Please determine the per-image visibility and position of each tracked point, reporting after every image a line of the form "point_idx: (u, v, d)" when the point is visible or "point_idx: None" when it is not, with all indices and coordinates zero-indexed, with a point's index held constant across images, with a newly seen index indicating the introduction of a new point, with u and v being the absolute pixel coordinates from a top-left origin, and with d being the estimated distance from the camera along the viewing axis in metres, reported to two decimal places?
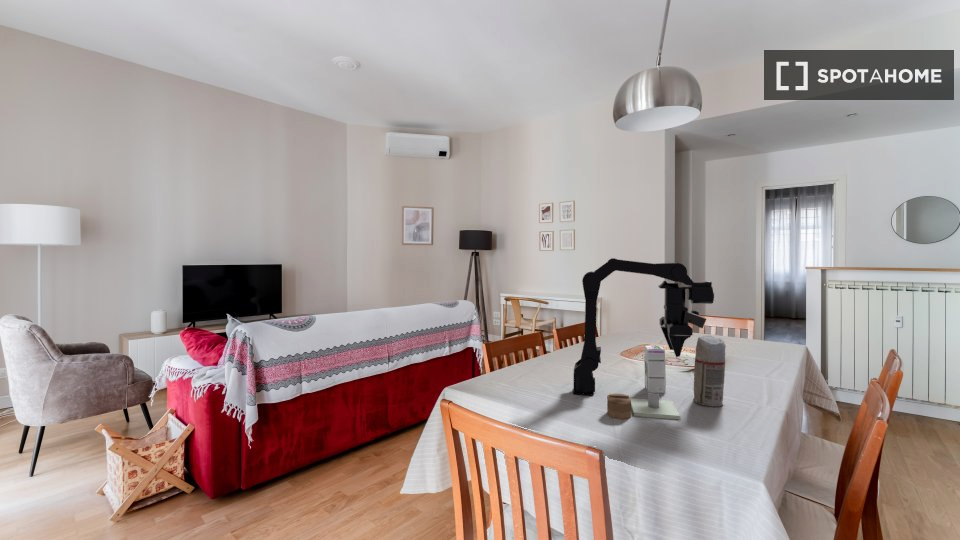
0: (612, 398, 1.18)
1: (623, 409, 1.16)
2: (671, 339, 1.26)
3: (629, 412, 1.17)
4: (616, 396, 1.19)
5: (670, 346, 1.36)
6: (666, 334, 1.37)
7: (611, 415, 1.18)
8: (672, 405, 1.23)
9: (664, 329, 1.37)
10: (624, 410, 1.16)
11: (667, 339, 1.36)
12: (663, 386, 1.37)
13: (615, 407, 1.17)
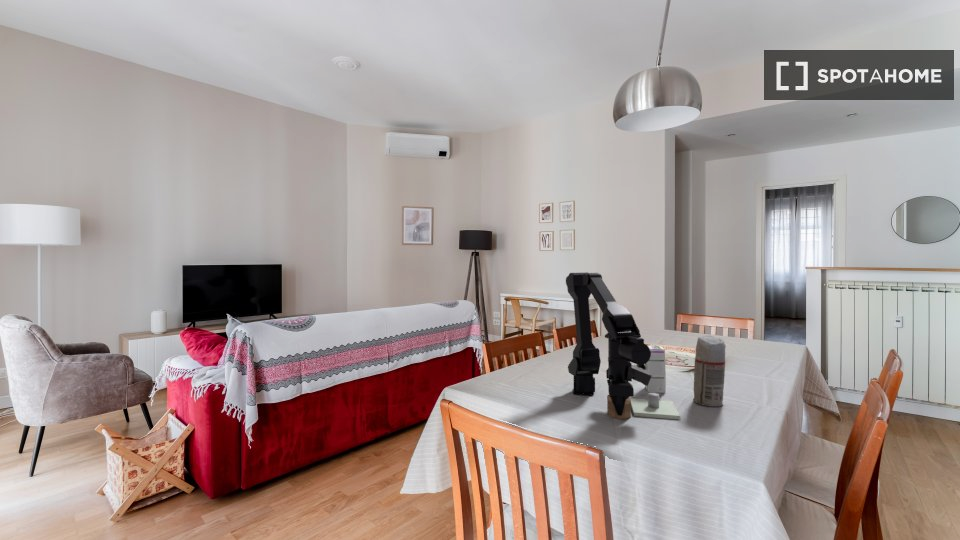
0: None
1: (623, 409, 1.16)
2: (612, 397, 1.15)
3: (629, 412, 1.17)
4: None
5: None
6: None
7: (611, 415, 1.18)
8: (672, 405, 1.23)
9: None
10: (624, 410, 1.16)
11: None
12: (663, 386, 1.37)
13: None
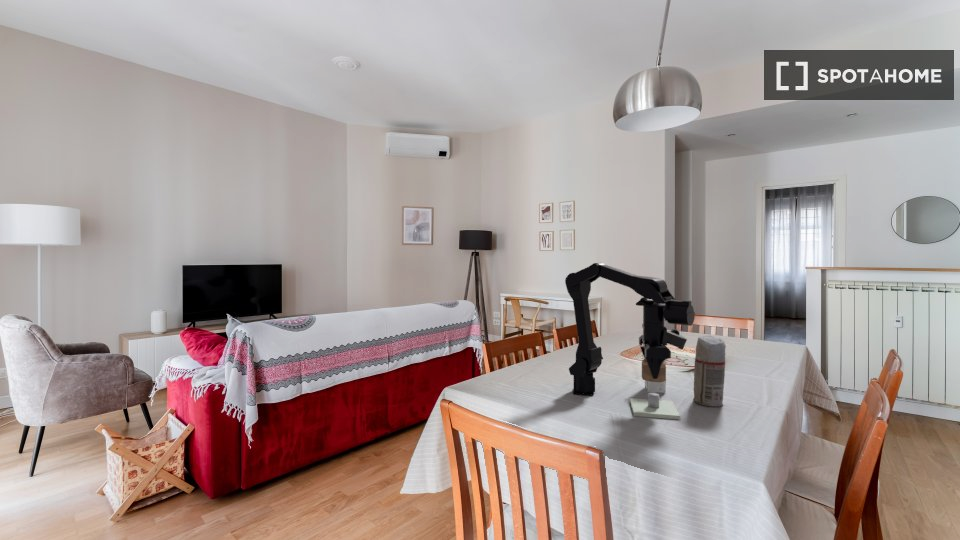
0: None
1: (659, 372, 1.19)
2: (648, 360, 1.18)
3: (664, 376, 1.20)
4: None
5: None
6: None
7: (646, 379, 1.21)
8: (672, 405, 1.23)
9: (644, 350, 1.26)
10: (659, 373, 1.19)
11: None
12: (663, 386, 1.37)
13: None
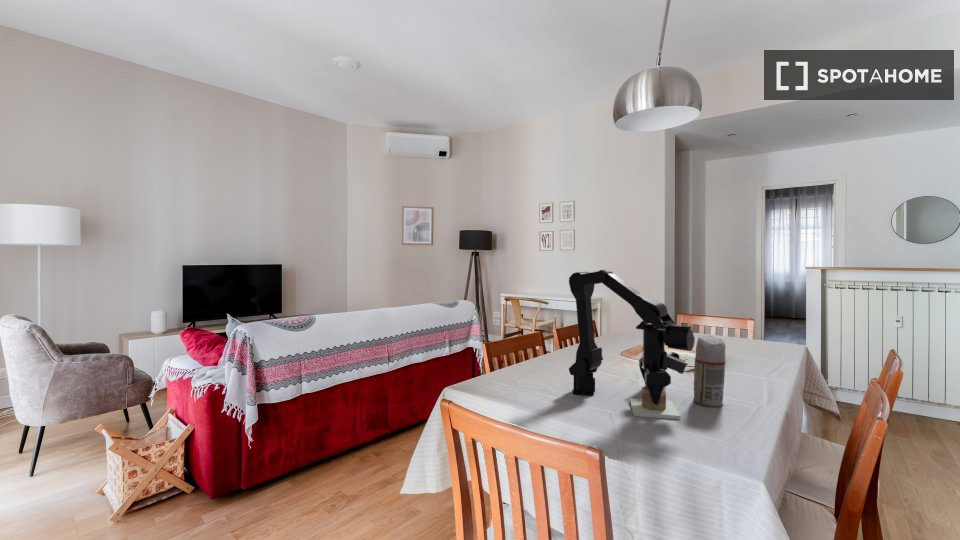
0: (647, 390, 1.22)
1: (659, 401, 1.20)
2: (648, 386, 1.17)
3: (664, 404, 1.21)
4: None
5: None
6: (645, 377, 1.28)
7: (646, 407, 1.21)
8: (672, 405, 1.23)
9: (643, 372, 1.28)
10: (659, 402, 1.20)
11: None
12: None
13: (651, 399, 1.20)
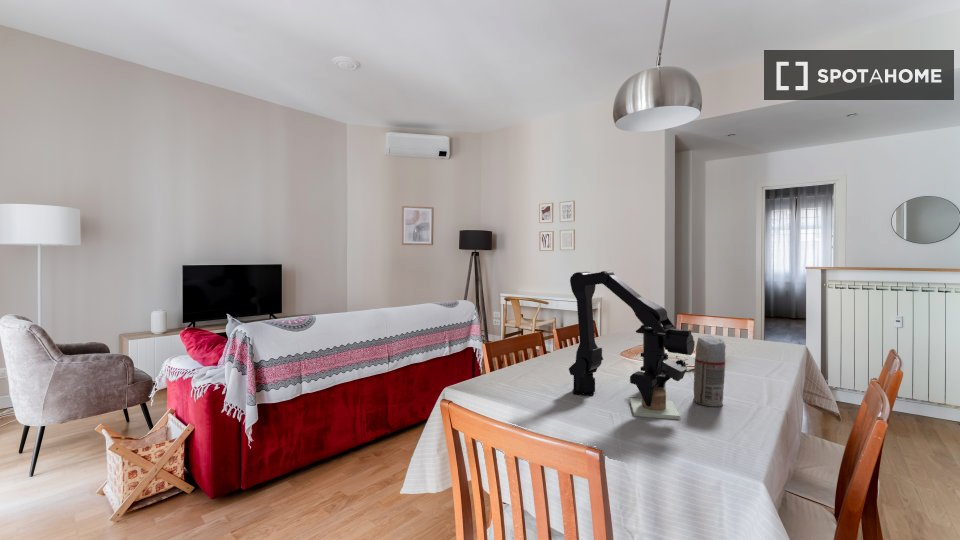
0: None
1: (658, 401, 1.20)
2: (638, 387, 1.20)
3: (664, 404, 1.21)
4: None
5: None
6: None
7: (646, 407, 1.21)
8: (672, 405, 1.23)
9: None
10: (659, 402, 1.20)
11: None
12: None
13: None
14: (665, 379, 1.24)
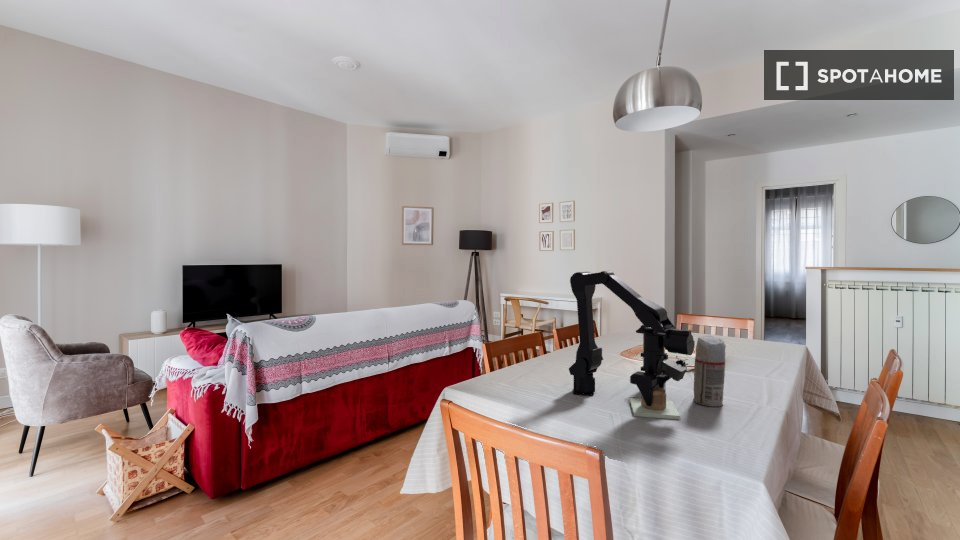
0: (656, 392, 1.20)
1: (665, 399, 1.21)
2: (638, 387, 1.20)
3: None
4: (654, 389, 1.22)
5: None
6: None
7: (658, 408, 1.20)
8: (672, 405, 1.23)
9: None
10: (665, 399, 1.22)
11: None
12: None
13: (662, 399, 1.20)
14: (665, 379, 1.24)
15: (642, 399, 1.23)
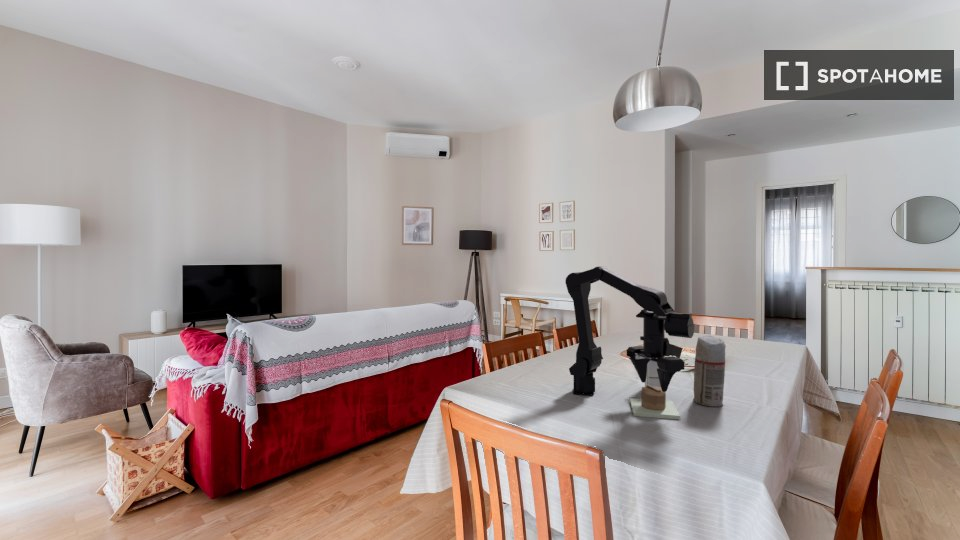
0: None
1: None
2: (662, 375, 1.17)
3: None
4: None
5: (642, 379, 1.28)
6: (638, 366, 1.28)
7: (665, 406, 1.21)
8: (672, 405, 1.23)
9: (636, 361, 1.28)
10: None
11: (639, 371, 1.28)
12: None
13: None
14: (648, 360, 1.29)
15: (650, 402, 1.20)
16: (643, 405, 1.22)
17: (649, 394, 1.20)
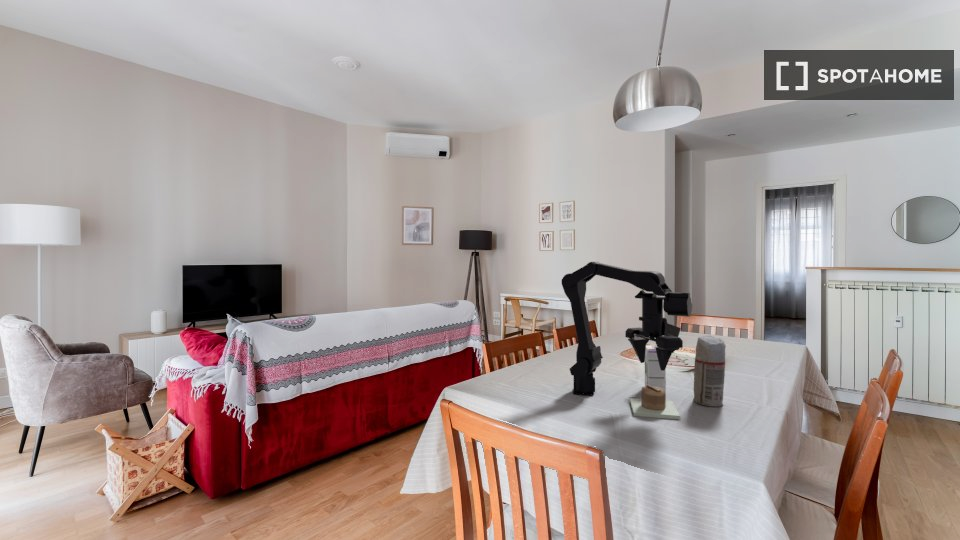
0: (662, 390, 1.21)
1: None
2: (661, 353, 1.18)
3: None
4: None
5: (641, 359, 1.29)
6: (637, 347, 1.30)
7: (665, 406, 1.21)
8: (672, 405, 1.23)
9: (635, 342, 1.29)
10: None
11: (638, 352, 1.29)
12: (663, 386, 1.37)
13: None
14: (646, 341, 1.31)
15: (650, 402, 1.20)
16: (643, 405, 1.22)
17: (649, 394, 1.20)
